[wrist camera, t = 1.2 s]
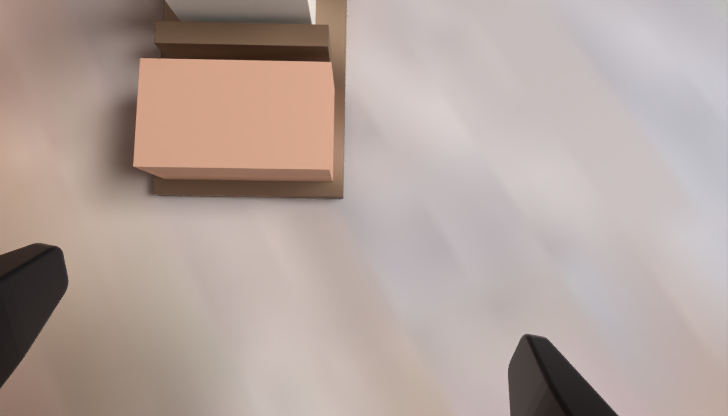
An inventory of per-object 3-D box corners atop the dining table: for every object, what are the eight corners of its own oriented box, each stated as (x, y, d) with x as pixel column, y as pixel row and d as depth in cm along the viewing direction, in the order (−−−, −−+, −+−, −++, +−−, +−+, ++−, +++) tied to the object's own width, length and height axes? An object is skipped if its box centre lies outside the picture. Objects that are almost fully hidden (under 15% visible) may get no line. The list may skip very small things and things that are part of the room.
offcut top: (331, 176, 21) (329, 169, 19) (150, 173, 21) (133, 166, 19) (333, 76, 21) (331, 62, 20) (156, 72, 21) (140, 58, 20)
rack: (343, 198, 23) (341, 189, 20) (160, 195, 23) (128, 186, 20) (347, -31, 24) (346, -73, 21) (173, -35, 24) (145, -79, 21)
